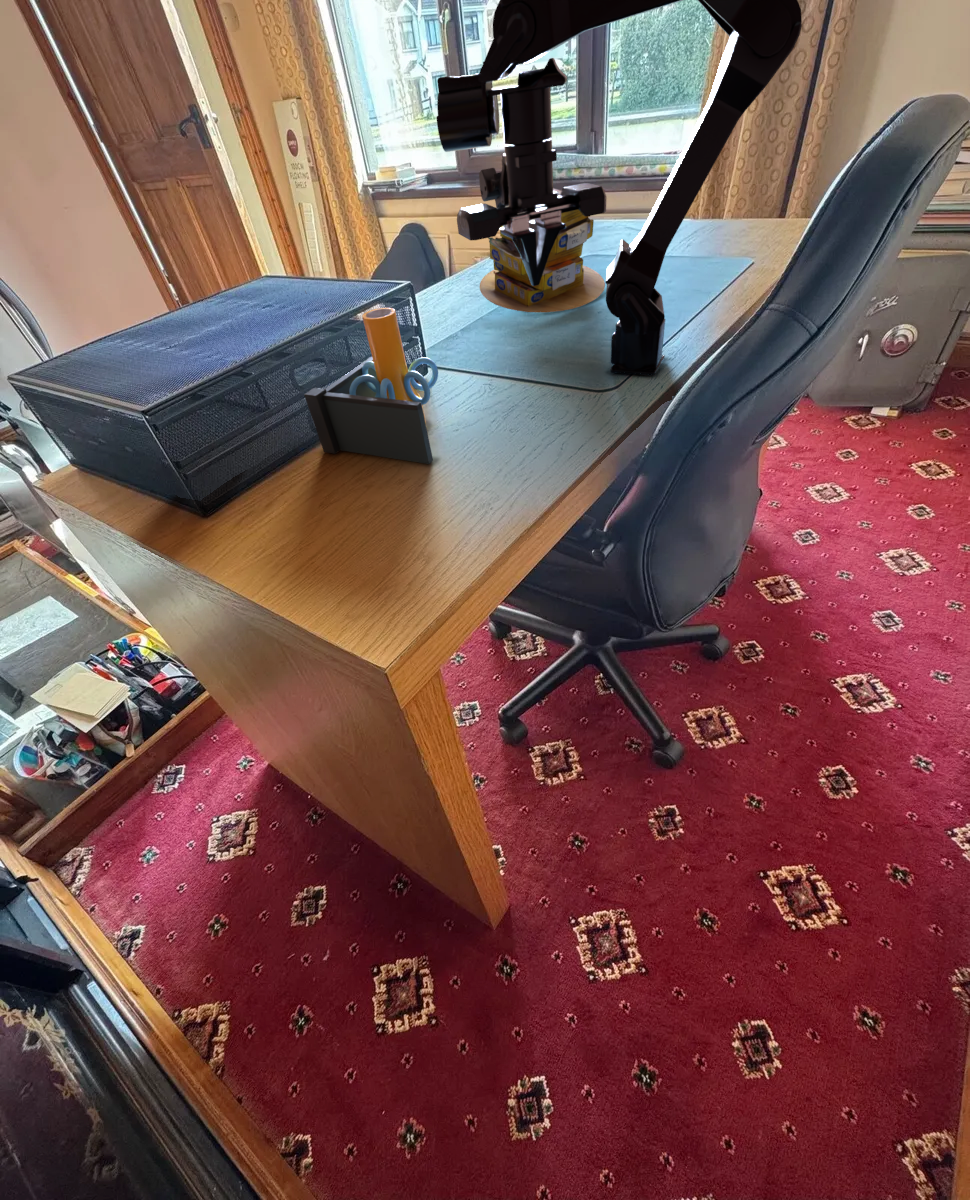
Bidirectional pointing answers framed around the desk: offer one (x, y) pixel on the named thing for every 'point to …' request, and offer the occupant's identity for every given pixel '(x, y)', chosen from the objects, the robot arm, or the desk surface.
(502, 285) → the stacked yellow boxes
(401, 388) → the cylinder
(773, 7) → the robot arm
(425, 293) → the desk surface
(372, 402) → the corner bracket
